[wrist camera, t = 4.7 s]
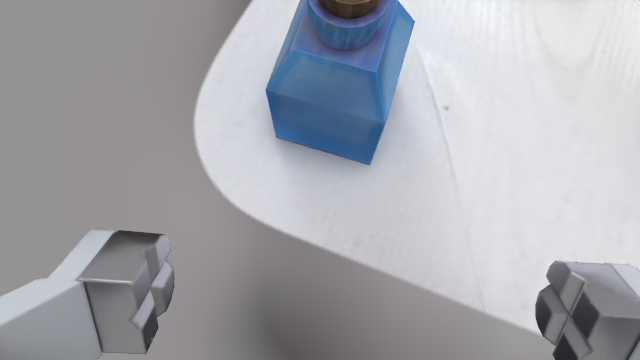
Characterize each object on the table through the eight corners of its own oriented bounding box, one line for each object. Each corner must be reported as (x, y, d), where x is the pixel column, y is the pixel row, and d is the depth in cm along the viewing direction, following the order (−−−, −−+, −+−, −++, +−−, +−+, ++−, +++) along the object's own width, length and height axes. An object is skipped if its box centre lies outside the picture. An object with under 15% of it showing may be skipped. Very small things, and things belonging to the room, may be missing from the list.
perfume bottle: (369, 164, 27) (409, 57, 16) (276, 137, 28) (248, 13, 16) (394, 80, 29) (446, -72, 17) (305, 56, 29) (299, -108, 18)
